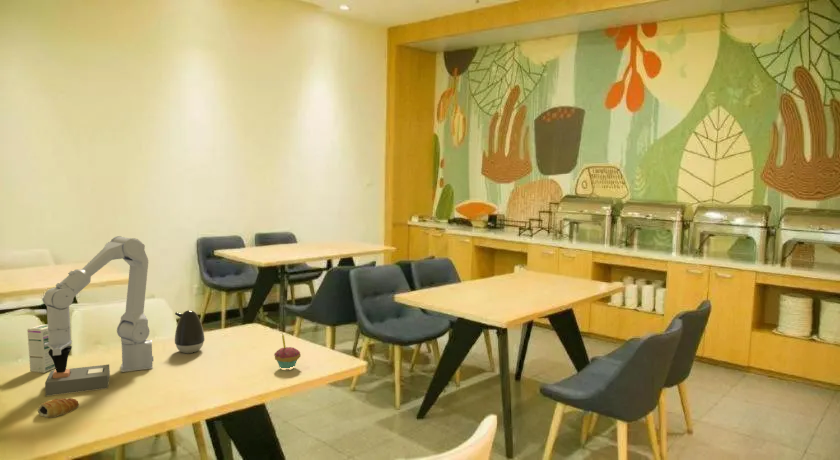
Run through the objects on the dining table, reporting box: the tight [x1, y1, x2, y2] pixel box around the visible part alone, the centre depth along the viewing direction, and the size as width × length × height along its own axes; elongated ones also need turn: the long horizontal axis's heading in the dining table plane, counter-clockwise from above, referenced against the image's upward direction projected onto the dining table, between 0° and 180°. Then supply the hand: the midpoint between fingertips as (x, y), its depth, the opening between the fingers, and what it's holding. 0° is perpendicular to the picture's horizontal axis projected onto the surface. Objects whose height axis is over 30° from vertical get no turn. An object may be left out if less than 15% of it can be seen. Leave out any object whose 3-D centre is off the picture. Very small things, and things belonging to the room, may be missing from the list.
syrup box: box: [26, 323, 56, 374], centre depth 193 cm, size 6×6×14 cm
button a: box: [87, 368, 103, 374], centre depth 181 cm, size 4×4×4 cm
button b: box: [53, 368, 71, 378], centre depth 177 cm, size 4×4×4 cm
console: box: [44, 364, 111, 397], centre depth 179 cm, size 16×11×4 cm
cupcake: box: [273, 332, 301, 368], centre depth 198 cm, size 9×8×12 cm
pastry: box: [37, 397, 80, 419], centre depth 161 cm, size 9×7×4 cm
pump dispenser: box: [174, 309, 205, 354], centre depth 214 cm, size 10×10×15 cm
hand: (61, 371), depth 177 cm, fingers closed, pressing on button b
